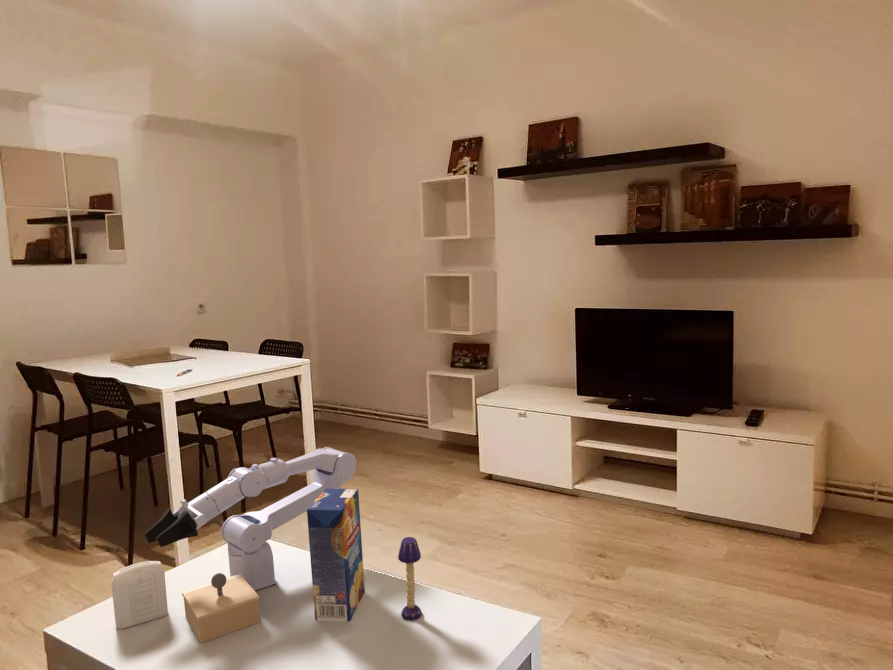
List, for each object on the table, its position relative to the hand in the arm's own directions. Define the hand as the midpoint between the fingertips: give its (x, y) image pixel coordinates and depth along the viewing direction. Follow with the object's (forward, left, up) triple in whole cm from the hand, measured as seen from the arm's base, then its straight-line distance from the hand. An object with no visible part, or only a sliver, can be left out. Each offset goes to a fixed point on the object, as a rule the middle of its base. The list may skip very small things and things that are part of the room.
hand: (152, 540), depth 139 cm
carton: (-11, +7, -18) cm, 22 cm away
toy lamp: (-43, +31, -18) cm, 56 cm away
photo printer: (+3, -4, -18) cm, 19 cm away
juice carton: (-33, +18, -18) cm, 42 cm away
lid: (-11, +7, -13) cm, 18 cm away
